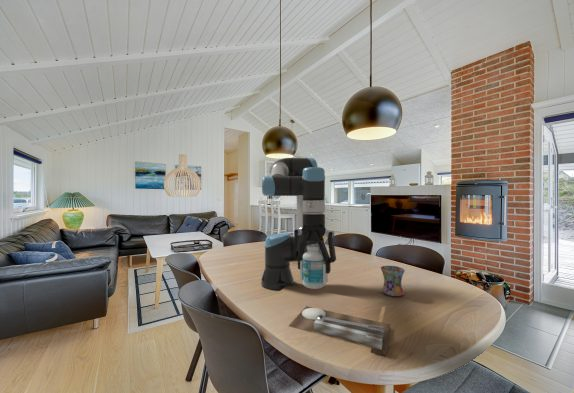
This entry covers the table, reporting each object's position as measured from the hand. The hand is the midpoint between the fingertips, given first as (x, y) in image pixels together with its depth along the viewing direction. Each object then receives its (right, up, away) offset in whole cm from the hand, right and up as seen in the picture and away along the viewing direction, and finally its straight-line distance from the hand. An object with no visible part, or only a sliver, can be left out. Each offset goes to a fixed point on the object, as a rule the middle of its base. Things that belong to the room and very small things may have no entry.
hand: (313, 280), depth 82 cm
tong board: (+7, -13, -7) cm, 16 cm away
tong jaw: (+9, -11, -10) cm, 18 cm away
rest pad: (0, -11, 0) cm, 11 cm away
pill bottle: (0, -2, 0) cm, 2 cm away
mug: (+36, -13, +22) cm, 44 cm away
